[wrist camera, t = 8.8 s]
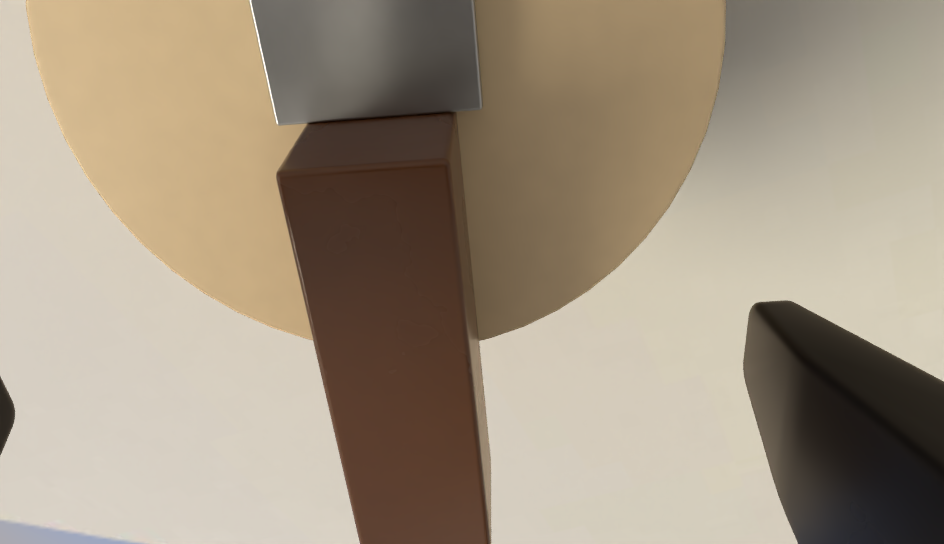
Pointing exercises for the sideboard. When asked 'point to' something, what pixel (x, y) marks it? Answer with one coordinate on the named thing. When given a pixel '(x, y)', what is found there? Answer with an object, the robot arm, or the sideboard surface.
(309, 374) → the sideboard surface
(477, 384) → the cake knife
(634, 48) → the cake
